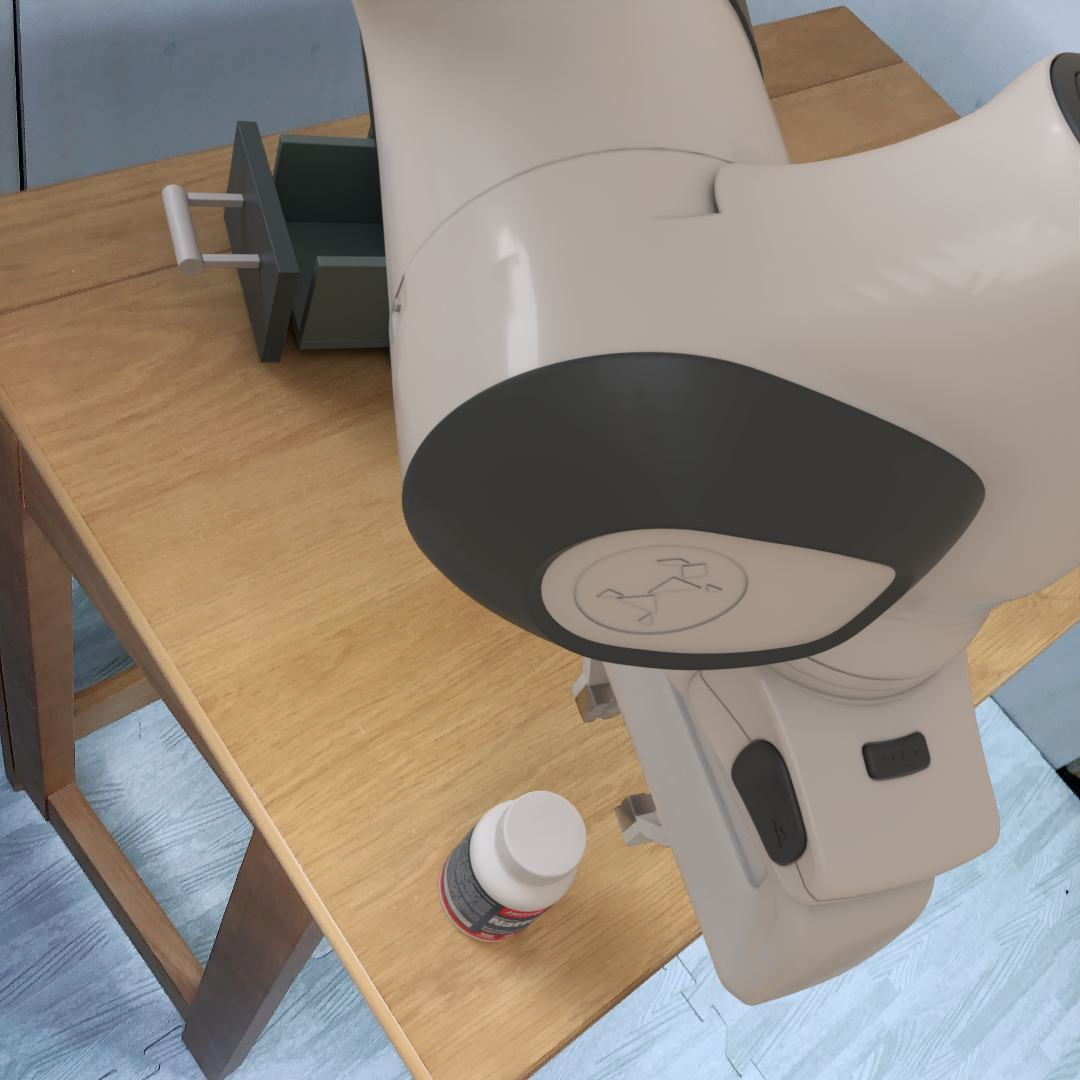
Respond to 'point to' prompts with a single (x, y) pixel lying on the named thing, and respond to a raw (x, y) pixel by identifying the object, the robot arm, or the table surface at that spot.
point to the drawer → (298, 240)
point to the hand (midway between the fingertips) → (614, 763)
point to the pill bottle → (513, 866)
